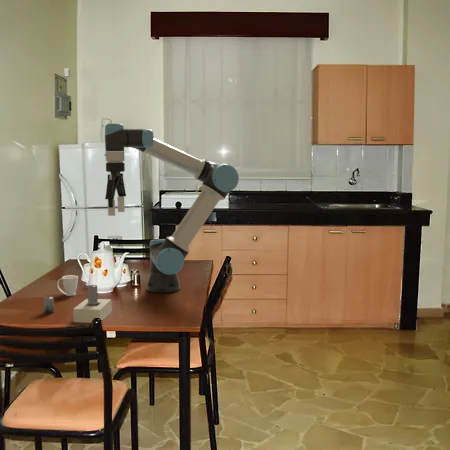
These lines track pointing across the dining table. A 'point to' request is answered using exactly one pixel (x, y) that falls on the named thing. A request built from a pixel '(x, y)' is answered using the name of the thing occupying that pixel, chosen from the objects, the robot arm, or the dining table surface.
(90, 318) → the hole block
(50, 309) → the short pin
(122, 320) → the dining table surface
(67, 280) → the cup
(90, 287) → the long pin
